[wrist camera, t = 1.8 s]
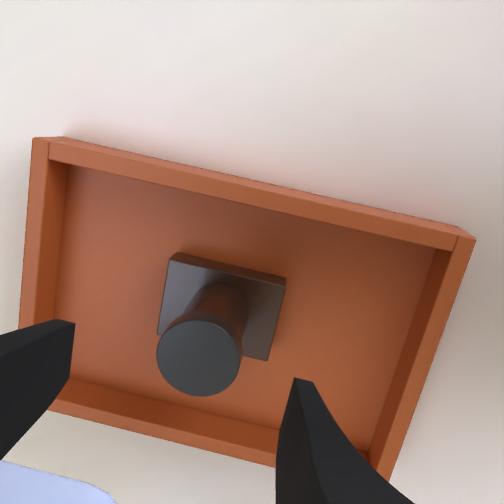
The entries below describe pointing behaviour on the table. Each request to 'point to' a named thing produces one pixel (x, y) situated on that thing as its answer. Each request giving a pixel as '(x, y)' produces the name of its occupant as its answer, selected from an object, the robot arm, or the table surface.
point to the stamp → (214, 322)
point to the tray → (243, 255)
